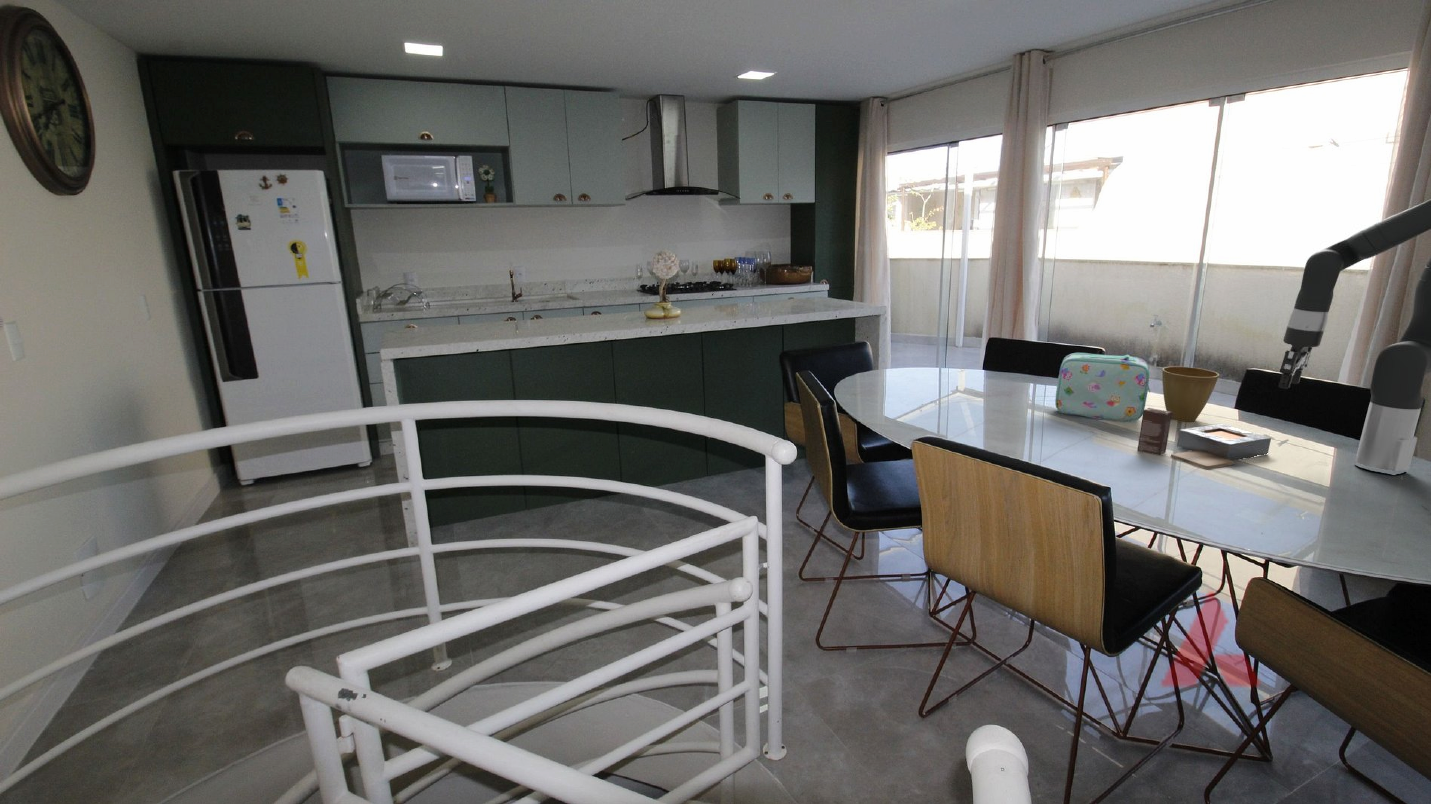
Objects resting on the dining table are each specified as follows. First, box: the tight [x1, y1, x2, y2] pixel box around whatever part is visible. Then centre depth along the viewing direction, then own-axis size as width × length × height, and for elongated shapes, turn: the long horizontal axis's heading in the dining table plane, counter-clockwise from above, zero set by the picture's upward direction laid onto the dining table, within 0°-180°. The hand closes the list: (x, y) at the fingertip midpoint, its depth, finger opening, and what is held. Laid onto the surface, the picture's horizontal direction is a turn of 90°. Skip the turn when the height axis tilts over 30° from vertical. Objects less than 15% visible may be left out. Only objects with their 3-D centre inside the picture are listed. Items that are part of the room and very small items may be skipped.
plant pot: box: [1161, 365, 1220, 423], centre depth 216 cm, size 15×15×16 cm
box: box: [1137, 407, 1172, 456], centre depth 186 cm, size 6×4×12 cm
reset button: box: [1208, 431, 1241, 439], centre depth 187 cm, size 6×6×2 cm
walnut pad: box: [1170, 450, 1235, 470], centre depth 180 cm, size 10×10×1 cm
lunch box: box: [1054, 352, 1151, 422], centre depth 219 cm, size 27×10×21 cm, turn 59°
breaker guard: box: [1176, 423, 1272, 462], centre depth 187 cm, size 14×16×5 cm
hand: (1288, 385), depth 181 cm, fingers open, 8 cm apart
